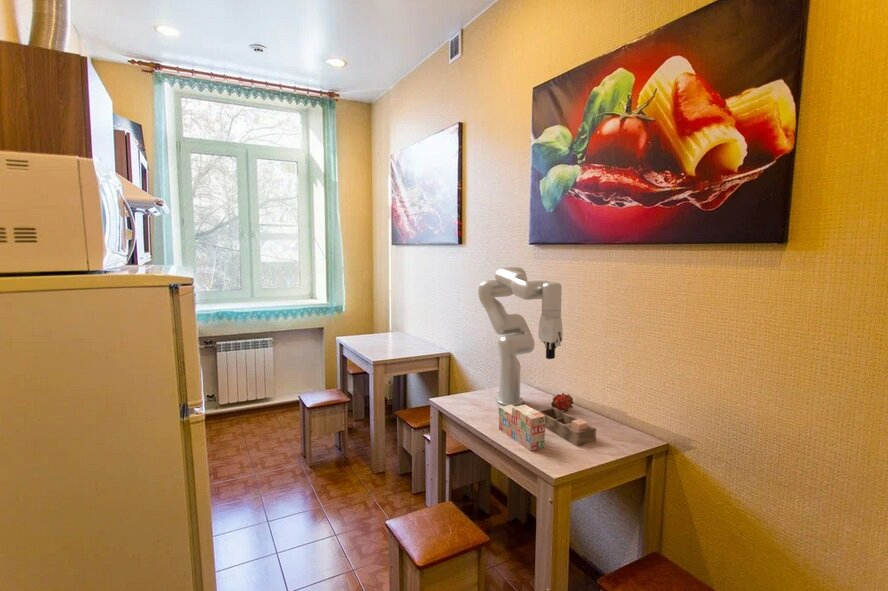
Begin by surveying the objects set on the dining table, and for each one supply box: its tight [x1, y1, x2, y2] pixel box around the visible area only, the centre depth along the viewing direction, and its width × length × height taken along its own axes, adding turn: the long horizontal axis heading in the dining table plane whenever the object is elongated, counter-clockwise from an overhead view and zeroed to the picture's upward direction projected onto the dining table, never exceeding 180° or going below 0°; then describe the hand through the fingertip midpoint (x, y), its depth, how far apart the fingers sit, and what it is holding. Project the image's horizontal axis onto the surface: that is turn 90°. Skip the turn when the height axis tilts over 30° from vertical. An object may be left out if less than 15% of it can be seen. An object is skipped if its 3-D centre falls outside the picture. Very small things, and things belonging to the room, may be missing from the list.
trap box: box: [537, 407, 597, 447], centre depth 170 cm, size 24×9×5 cm, turn 25°
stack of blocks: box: [498, 404, 546, 452], centre depth 164 cm, size 21×6×12 cm, turn 25°
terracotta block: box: [571, 418, 588, 432], centre depth 162 cm, size 4×4×4 cm
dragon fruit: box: [551, 392, 575, 413], centre depth 192 cm, size 8×8×12 cm
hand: (550, 358), depth 176 cm, fingers closed
